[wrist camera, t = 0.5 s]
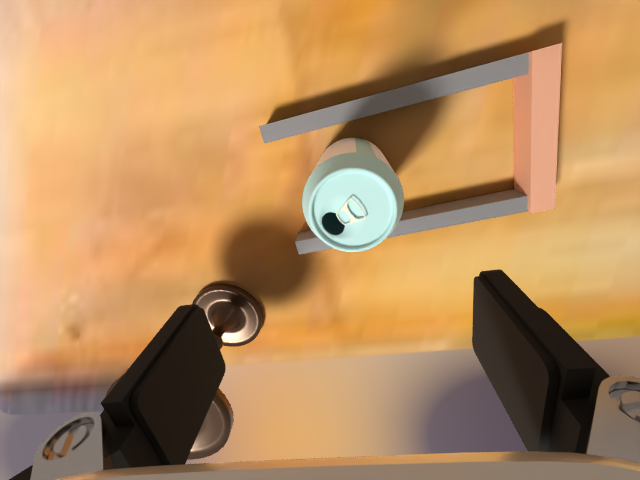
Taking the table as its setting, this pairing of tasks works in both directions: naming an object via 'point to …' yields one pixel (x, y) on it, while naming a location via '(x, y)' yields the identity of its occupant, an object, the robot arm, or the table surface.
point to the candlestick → (229, 330)
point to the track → (528, 92)
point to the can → (352, 196)
